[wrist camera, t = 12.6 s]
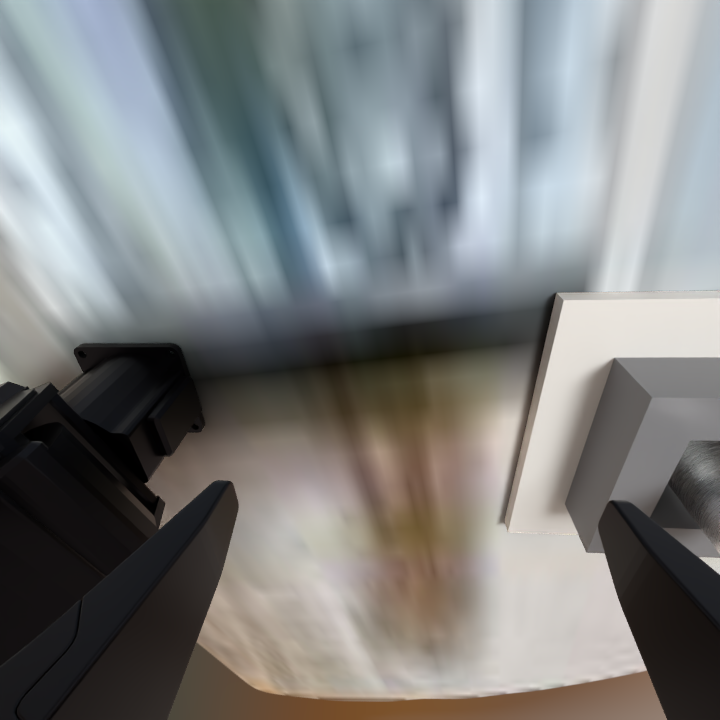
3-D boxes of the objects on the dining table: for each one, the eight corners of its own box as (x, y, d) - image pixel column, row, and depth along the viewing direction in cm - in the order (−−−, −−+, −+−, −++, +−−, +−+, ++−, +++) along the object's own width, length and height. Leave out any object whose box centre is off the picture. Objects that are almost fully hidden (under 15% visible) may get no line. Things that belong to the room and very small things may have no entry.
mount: (504, 520, 29) (521, 580, 25) (556, 292, 20) (595, 333, 16) (765, 529, 28) (825, 594, 24) (952, 287, 18) (1100, 330, 15)
